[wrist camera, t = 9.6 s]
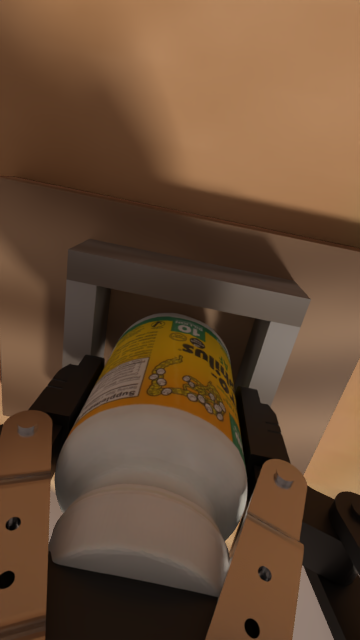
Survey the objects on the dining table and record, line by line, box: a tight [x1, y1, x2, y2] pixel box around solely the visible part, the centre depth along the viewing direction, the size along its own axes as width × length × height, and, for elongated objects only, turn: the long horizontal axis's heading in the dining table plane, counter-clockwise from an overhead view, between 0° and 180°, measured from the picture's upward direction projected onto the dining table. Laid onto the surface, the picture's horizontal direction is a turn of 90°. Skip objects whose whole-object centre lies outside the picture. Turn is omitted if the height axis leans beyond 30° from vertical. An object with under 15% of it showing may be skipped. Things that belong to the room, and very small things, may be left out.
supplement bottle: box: [48, 313, 247, 597], centre depth 11 cm, size 5×5×10 cm
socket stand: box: [0, 176, 360, 475], centre depth 16 cm, size 13×18×4 cm
